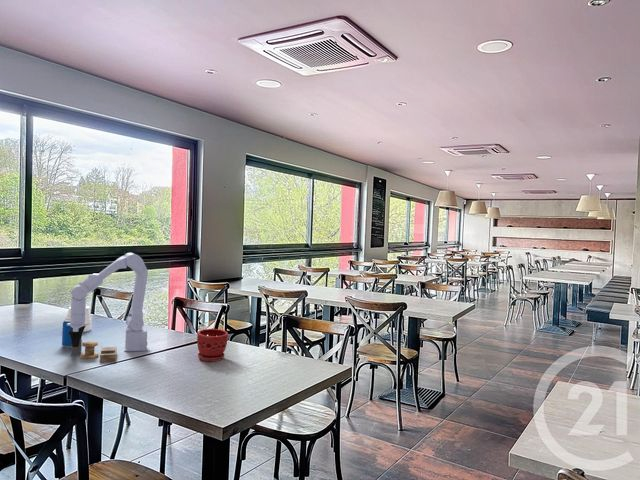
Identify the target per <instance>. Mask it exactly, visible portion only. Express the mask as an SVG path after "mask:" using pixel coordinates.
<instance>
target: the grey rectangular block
mask: <svg viewBox="0 0 640 480" xmlns="http://www.w3.org/2000/svg"><path fill="white" fill-rule="evenodd" d="M82 343H83V340H82V338H81V339H80V343H79V346H78V347H73V346H72V347H71V354H70V355H71V356H80V355H81V354H82V347H83V346H82Z"/></svg>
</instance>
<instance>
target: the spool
mask: <svg viewBox="0 0 640 480" xmlns="http://www.w3.org/2000/svg"><path fill="white" fill-rule="evenodd" d="M98 345H99V342H98V341H96V340H88V341H87V340H86V341H82V347H84V352H81V355H79V357H80V359H82V360H92V359H93V360H94V359H97V358H98V357H100V354H99V352H96V351H95V347H97V346H98Z"/></svg>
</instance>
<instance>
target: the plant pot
mask: <svg viewBox="0 0 640 480" xmlns="http://www.w3.org/2000/svg"><path fill="white" fill-rule="evenodd" d="M196 336H197V337H196V341H197V342H196V344H197V349H198V353H197V358H198V359H200V360H202V361H205V362H217V361H220V360H223V359H224V358H225V354H226V353H224V352H225V351H226V347H227V345H228V340H229V339H228V338H229V333H228V332H227V331H226V330H224V329H217V328H205V329H201V330H198V332H197V335H196Z"/></svg>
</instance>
